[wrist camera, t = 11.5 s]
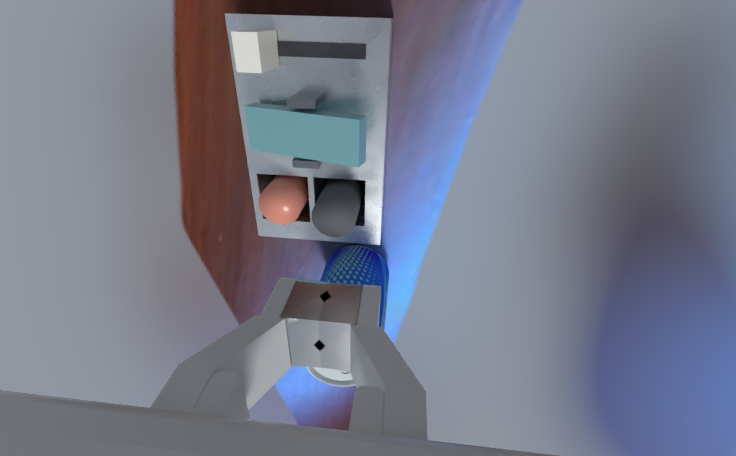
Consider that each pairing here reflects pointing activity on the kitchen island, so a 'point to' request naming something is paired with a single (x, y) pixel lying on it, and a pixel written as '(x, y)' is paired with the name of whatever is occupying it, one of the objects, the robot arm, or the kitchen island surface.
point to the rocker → (307, 133)
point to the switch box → (322, 107)
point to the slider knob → (255, 50)
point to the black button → (337, 207)
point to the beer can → (360, 270)
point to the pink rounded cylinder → (284, 198)
